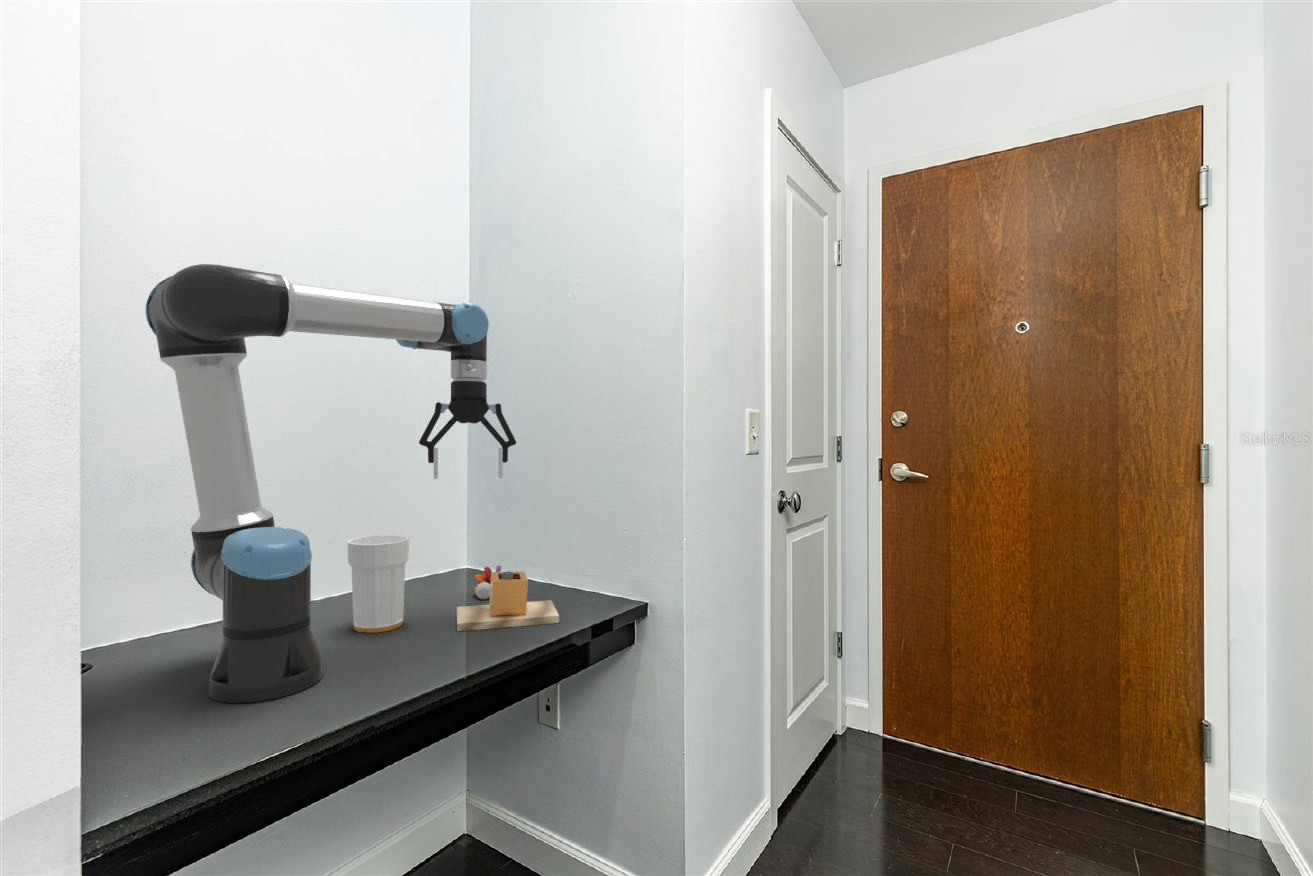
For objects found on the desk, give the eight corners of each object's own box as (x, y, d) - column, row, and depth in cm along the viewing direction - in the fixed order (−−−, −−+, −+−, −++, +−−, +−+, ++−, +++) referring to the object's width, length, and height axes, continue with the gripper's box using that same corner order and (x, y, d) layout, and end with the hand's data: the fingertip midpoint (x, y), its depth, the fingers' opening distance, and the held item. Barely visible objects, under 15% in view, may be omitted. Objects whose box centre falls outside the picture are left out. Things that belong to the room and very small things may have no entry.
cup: (416, 627, 127) (417, 540, 127) (356, 638, 120) (356, 546, 120) (398, 614, 136) (398, 532, 136) (340, 624, 129) (340, 538, 128)
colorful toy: (475, 592, 155) (475, 562, 155) (516, 590, 156) (516, 561, 156) (471, 601, 146) (471, 570, 146) (514, 600, 148) (514, 569, 148)
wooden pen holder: (490, 615, 129) (493, 581, 129) (489, 604, 136) (491, 571, 135) (525, 614, 131) (528, 581, 131) (522, 603, 138) (524, 571, 137)
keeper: (456, 631, 125) (457, 583, 125) (456, 614, 136) (457, 569, 136) (559, 622, 131) (559, 576, 130) (551, 606, 142) (551, 564, 142)
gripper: (406, 378, 132) (406, 480, 133) (528, 381, 139) (527, 478, 140) (409, 380, 139) (409, 477, 140) (525, 383, 147) (524, 475, 147)
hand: (468, 478), depth 140 cm, fingers open, 13 cm apart
